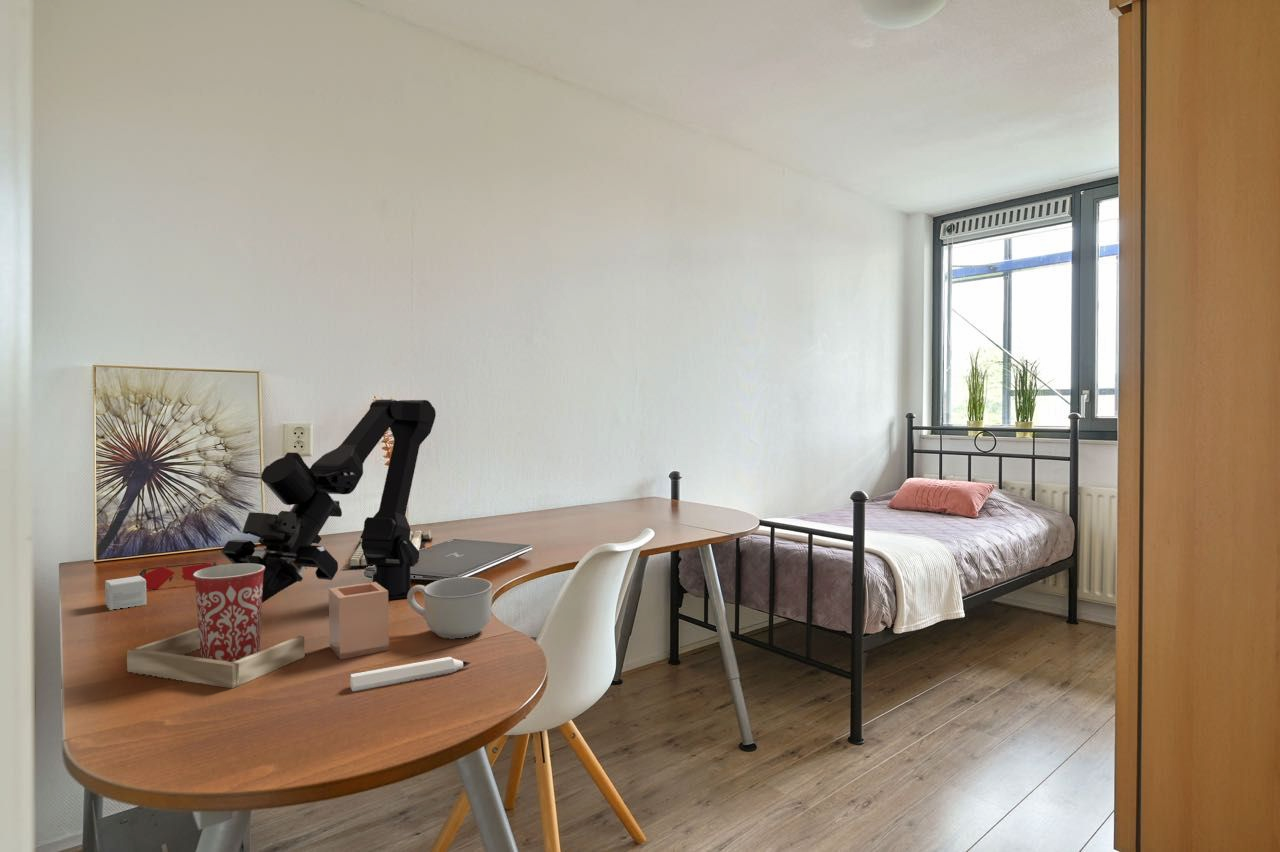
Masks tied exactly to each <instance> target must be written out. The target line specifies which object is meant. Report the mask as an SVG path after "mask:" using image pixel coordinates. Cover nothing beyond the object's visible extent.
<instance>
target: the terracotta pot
mask: <svg viewBox="0 0 1280 852" xmlns="http://www.w3.org/2000/svg"><path fill="white" fill-rule="evenodd" d="M389 613H390V612H389V599H388V591H387V590H386V589H385V588H383V587H382V586H381V585H379V584H378V583H377V582H372V581H371V582H366V583H357V584H351V585H343V586H337V587H329V588H328V615H329V616H328V617H329V619H328V622H329V648H330V649H331V650H332V651H333V653H334V654H335V655H336V656H337V657H338V659H339V660H346V659H350V658H355V657H360V656H365V655H369V654H375V653H376V654H377V653H382V652H386V651H389V650H390V631H389V630H390V626H389V624H390V623H389V618H390V615H389Z"/></svg>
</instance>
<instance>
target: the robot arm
mask: <svg viewBox="0 0 1280 852" xmlns="http://www.w3.org/2000/svg"><path fill="white" fill-rule="evenodd" d="M435 420H436V409H435V407H434V406H433V405H432V403H431V402H430V401H429V400H427V399H401V400H396V399H388V398H387V399H376V400H374V401H372V402H371V403H370V405H369V409H368V410H367V412H366V413H365V414H364V416H362V418H361V419H360V421H359V422H358V423H357V424H356V425H355V427H354V428H353V429H352V431H350V433H349V434H348V435H347V436H346V438H345V439H344V440H343V441H342V443H341V444H340V445H339V446H337V448H335V449H332V450H331V451H329V452H326V453H324V454H323V455H322V456H321V457H319V458H318V459H317V460H316V461H315V462H314V463H313V464H312V465H311V466H310V467H309V466H308V465H307V464H306V462H305V461H304V459H303V457H302V456H301V455H300V454H299V452H286V453H285V455H284V456H283V457H280V458H277V459H276V460H274V461H273V462H271V463H270V464H269V465H266V466H265V467H264V469H263V471H262V473H261V474H260V475H261V476H260V477H261V481H262V482H263V483H264V485H265V486H266V487H268V489H269V490H270V491H271V492H272V494H274V495H275V496H276V497H277V498H278V500H280V502H281V503H282V504H284V505H286V506H291V507H292V508H291V509H290V510H289V511H288V510H281V511H279V513H278V514H276V513H275V514H273V513H267V512H255V511H254V512H249V513H248V514H247V518H246V520H245V523H244V525H243V529H242V533H243V534H245V535H248V534H249V535H252V536H255V537H258V538H259V539H258V543H259V544H260V545H261V546H263V547H258V546H257V545H256V544H255V543H254V541H252V540H247V539H246V540H245V539H230V540H228V541H227V543H225V544H224V547H223V548H222V549H221V551H220V553H221V554H222V556H224V557H225V558H226V559H228V561H230V562H231V564H239V563H253V564H260V565H263V566H265V570H264V573H263V593H262V604H263V603H265V602H266V601H268V600H269V599H270V598H273V597H274V596H276V595H277V594H279V593H280V592H282V591H283V590H285V589H287V588H289V587H290V586H292V585H293V584H295V583H297V582H302V581H303V579H304V578H303V577H302V574H303V572H304V571H305V570H307V569H308V568H315V569H316V568H317V569H316V570H315V573H314V574H315V575H316V578H317V579H318V580H326V581H327V580H328V581H333V579H334V577H335V576H336V574H337V572H338V570H339V564H338V561H337V560H336V559H335V558H334V557H333V556H332V554H331V553H330V552H329V551H328V550H327V549H326V548H325V546H323V545H317V544H320V542H321V541H322V537H321V536H320V535H319V534H320V531H321V530H322V529H323V527H324V526H325V524H326V523H327V521H328V519H329V517H334V518H335V517H338V518H341V517H342V515H343V513H342V512H343V511H342V508H341V506H340V504H341V503H340V501H339V500H334V498H332V496H331V495H350V494H352V493H353V491H354V490H355V489H356V488H357V485H358V484H359V483H360V480H361V479H362V476H363V474H364V463H365V461H366V459H367V458H368V457H369V455H370V454H371V452H372V451H373V450H374V449H375V448H376V446H377V445H378V443H379V442H380V441H381V439H382V438H383V437H384V436H385V435H386V433H387V432H388V430H389V429H390V431H391V434H392V437H393V444H392V445H393V446H392V449H391V454H390V458H389V463H388V467H387V472H386V476H385V482H384V485H383V490H382V495H381V499H380V504H379V508H378V511H377V512H376V513H375V515H373V517H369V516H368V517H366V518H365V520H364V524H363V531H362V533H361V535H360V537H359V538H360V539H361V542H362V543H361V548H362V549H363V553H364V556H365V560H366V563H367V565H375V569H374V571H372V572H371V582H377V583H378V584H379V585H381V586H382V587H383V588H385V589H386V590H387V591H388V600H396V599H406V598H407V594H408V592H409V590H410V589H411V588H412V587H411V567H413V566H415V564H418V563H419V561H418V559H419V551H418V550H417V548H416V547H415V546H414V545H413V543H412V542H411V541H410V531H412V530H411V526H410V525H409V521H408V519H407V516H406V513H407V508H408V504H409V498H410V495H411V494H410V493H411V489H412V483H413V480H414V474H415V469H416V466H417V460H418V455H419V450H420V446H421V444H422V443H424V441H425V440H426V438H428V436H429V435H430V434H431V433H432V432H431V431H432V429H433V427H434V423H435ZM292 505H293V506H292ZM314 544H316V545H314ZM264 546H265V547H264Z"/></svg>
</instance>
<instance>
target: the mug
mask: <svg viewBox="0 0 1280 852" xmlns="http://www.w3.org/2000/svg"><path fill="white" fill-rule="evenodd" d="M264 570H265V566H263V565H260V564H253V563H239V564H233V563H228V564H220V565H217V566H213V567H208V568H204V569H201V570H198V571H196V572H195V573H194V574H193V577H194V579H195V581H194V585H195V587H194V588H195V598H196V611H197V621H198V627H199V637H200V648H201V649H200V658H205V659H213V660H220V661H227V662H235V661H237V660H240V659H242V658H245V657H247V656H250V655H252V654H255V653H257V652H260V651H261V649H260V648H261V627H262V626H261V625H262V607H263V603H262V593H263V573H264Z"/></svg>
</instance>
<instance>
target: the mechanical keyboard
mask: <svg viewBox="0 0 1280 852" xmlns="http://www.w3.org/2000/svg"><path fill="white" fill-rule="evenodd" d="M432 535H433V534H432V532H431V530H430V529H428V530H424V531H423V532H422V531H421V530H416V531H414V532H413V531H412V530H411V531H410V541H411V542H412V543H413V545H414V546H415V547H416V548H417V550H418V551H419V549H422V548H425V547H427V546H430V545H431V546H432V545H433V537H432ZM361 543H362V539H361V538H360V539H359V541H358V542H357V544H356V546H355V548H354V553H353V554H352V556H351V558H350V559H349V561H350V562H349V568H348V571H349V570H351V571H354V570H356V571H357V570H366V569H365V568H366V567H368V566H373V565H367V563H366V560H365V556H364V553H363V549H362V548H361Z"/></svg>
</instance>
